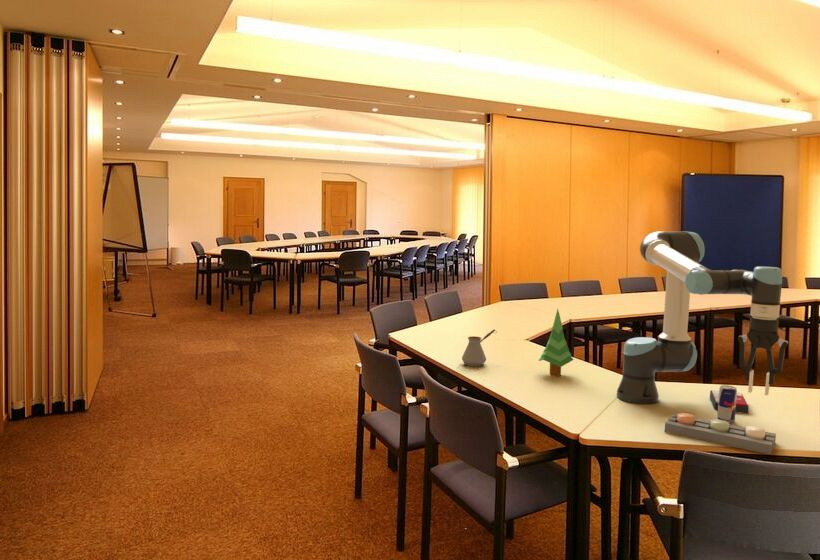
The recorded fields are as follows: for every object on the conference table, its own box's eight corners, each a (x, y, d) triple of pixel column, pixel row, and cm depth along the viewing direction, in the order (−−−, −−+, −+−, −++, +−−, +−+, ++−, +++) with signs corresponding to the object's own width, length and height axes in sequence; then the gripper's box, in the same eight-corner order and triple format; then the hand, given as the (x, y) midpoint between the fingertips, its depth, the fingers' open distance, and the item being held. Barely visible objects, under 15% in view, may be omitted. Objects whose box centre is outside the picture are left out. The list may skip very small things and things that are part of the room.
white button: (744, 438, 185) (744, 429, 185) (746, 434, 189) (747, 425, 189) (763, 443, 182) (764, 433, 182) (765, 438, 186) (766, 428, 186)
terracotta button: (675, 424, 197) (675, 415, 197) (679, 420, 201) (679, 411, 201) (692, 428, 194) (692, 419, 194) (695, 423, 198) (696, 415, 198)
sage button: (708, 431, 191) (709, 422, 191) (711, 427, 195) (712, 418, 195) (726, 435, 188) (727, 426, 188) (729, 430, 192) (730, 421, 192)
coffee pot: (475, 368, 273) (476, 336, 272) (456, 364, 282) (457, 332, 280) (503, 361, 288) (504, 330, 287) (485, 357, 296) (486, 327, 295)
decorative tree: (565, 370, 273) (567, 305, 270) (575, 379, 257) (578, 310, 254) (535, 370, 272) (538, 305, 269) (544, 379, 257) (547, 310, 254)
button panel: (664, 431, 196) (665, 422, 196) (673, 422, 205) (674, 413, 205) (770, 454, 178) (771, 445, 178) (775, 442, 188) (776, 433, 187)
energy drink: (727, 424, 204) (729, 390, 203) (713, 419, 209) (716, 385, 208) (738, 422, 206) (740, 388, 205) (724, 417, 211) (727, 384, 210)
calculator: (715, 401, 219) (710, 388, 233) (714, 412, 220) (709, 398, 234) (749, 404, 215) (742, 391, 229) (748, 416, 216) (741, 402, 230)
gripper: (731, 316, 183) (725, 390, 186) (796, 322, 173) (789, 401, 176) (735, 313, 189) (730, 385, 192) (798, 319, 179) (791, 395, 182)
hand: (758, 392), depth 184 cm, fingers open, 4 cm apart
